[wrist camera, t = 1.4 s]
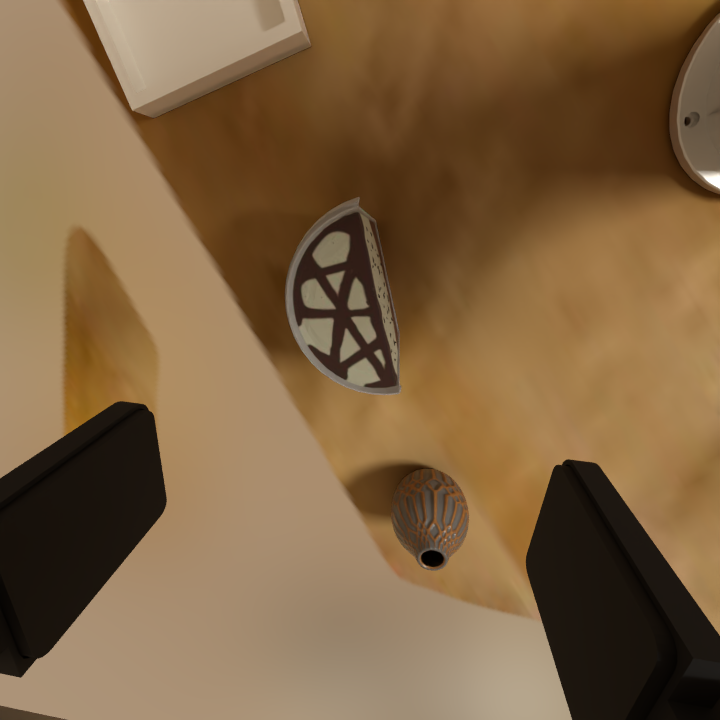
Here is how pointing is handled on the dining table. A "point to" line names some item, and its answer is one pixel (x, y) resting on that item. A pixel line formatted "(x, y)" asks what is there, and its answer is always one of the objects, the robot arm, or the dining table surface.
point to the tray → (192, 45)
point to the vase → (430, 517)
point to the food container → (345, 302)
